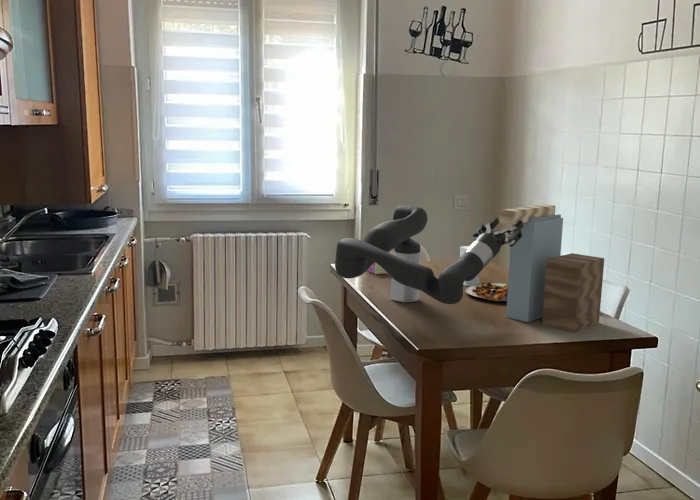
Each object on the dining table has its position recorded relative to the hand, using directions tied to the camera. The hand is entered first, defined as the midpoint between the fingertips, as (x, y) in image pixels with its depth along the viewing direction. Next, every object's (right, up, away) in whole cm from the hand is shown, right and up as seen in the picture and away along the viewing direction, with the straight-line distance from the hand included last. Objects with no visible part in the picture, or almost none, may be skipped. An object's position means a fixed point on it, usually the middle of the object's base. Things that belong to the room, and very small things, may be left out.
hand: (509, 220), depth 213 cm
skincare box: (-2, -23, +61) cm, 65 cm away
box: (-38, -18, +81) cm, 92 cm away
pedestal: (+11, -30, +17) cm, 37 cm away
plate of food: (+8, -26, +43) cm, 51 cm away
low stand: (+21, -32, +8) cm, 39 cm away
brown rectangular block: (+8, +1, +8) cm, 11 cm away
